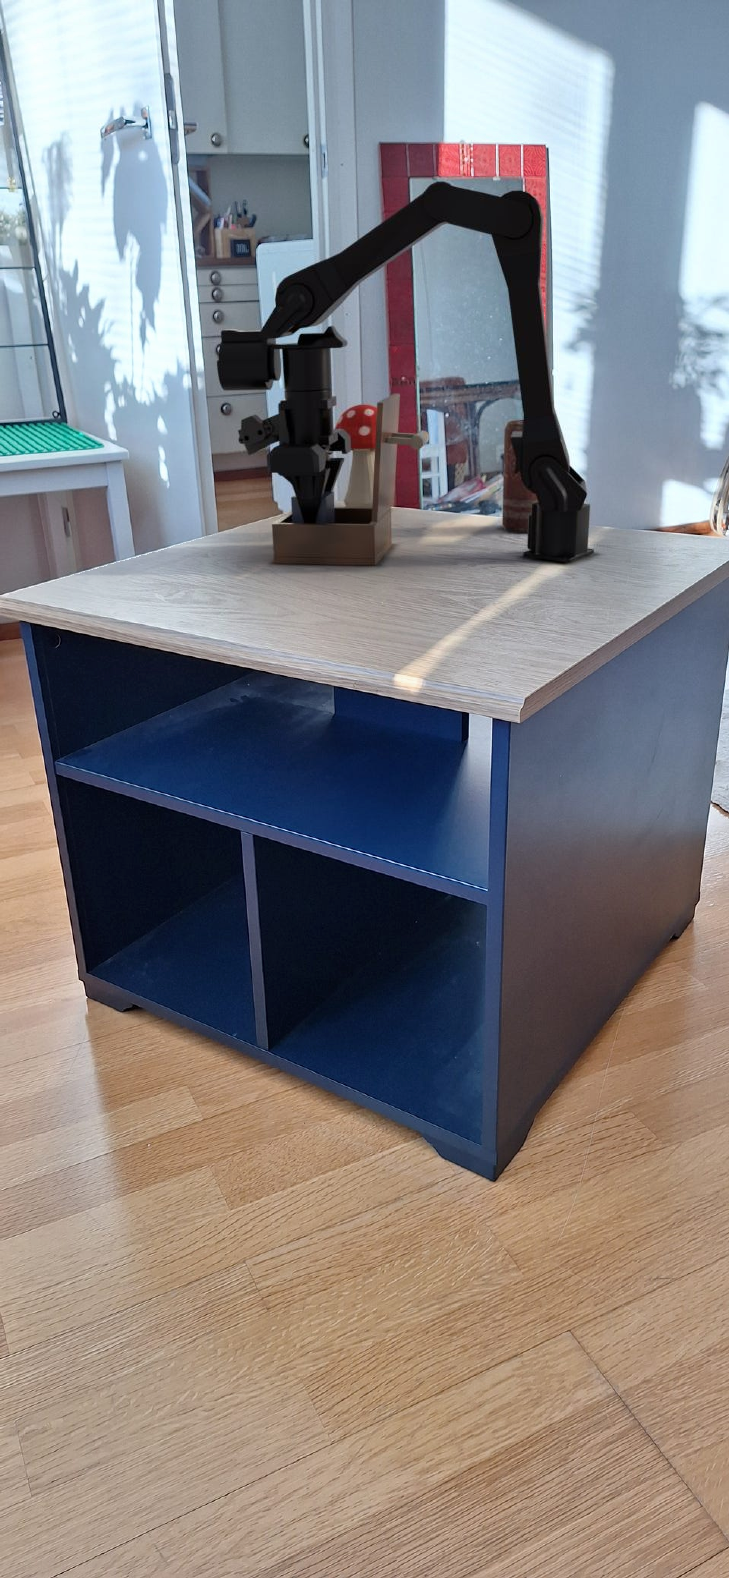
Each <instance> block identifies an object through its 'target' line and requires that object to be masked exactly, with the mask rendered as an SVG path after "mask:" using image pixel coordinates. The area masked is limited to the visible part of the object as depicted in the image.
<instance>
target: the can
mask: <svg viewBox="0 0 729 1578" xmlns="http://www.w3.org/2000/svg"><path fill="white" fill-rule="evenodd" d="M522 429H523V419H516V420H510V421H507V423H506V426H505V428H504V439H503V442H504V443H503V475H502V477H503V479H502V480H503V481H502V482H503V483H502V523H501V524H502V526H503V527H502V528H503V529H504V530H505V531H506V532H509V533H515V534H516V533H517V534H528V517H529V515H531V514H532V504H533V503H536V502H538V499H537V496H536V494H534V493H532V492H531V491H530V490H528V489H527V488H526V487H525V486H524V484H523V482H522V479H521V475H520V471H519V472H518V473H517V474H515V473H514V470H515V466H516V457H515V453H514V450H513V447H512V443H511V435H512V432H513V431H522Z"/></svg>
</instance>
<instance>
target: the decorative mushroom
mask: <svg viewBox="0 0 729 1578" xmlns="http://www.w3.org/2000/svg"><path fill="white" fill-rule="evenodd" d="M376 418H377V406H374V405H371V404H366V403H365V404H364V403H363V404H356V405H353V406H351V407H349V408H348V409H346V410H345V411H344V412H343V413H342V414H341V415H340V416H339V418H338V419H337V422H336V425H335V427H334V429H344V430H345V431H346V432H347V433H348V434H349V436H350V440H351V452H352V457H351V466H350V470H349V480H348V485H347V491H346V493H345V496H344V498H343V503H344V507H372V502H373V481H374V460H375V439H376Z"/></svg>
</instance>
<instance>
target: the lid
mask: <svg viewBox="0 0 729 1578" xmlns="http://www.w3.org/2000/svg"><path fill="white" fill-rule="evenodd" d="M400 400H401V393H399V392H398V393H397V392H395V393H392V394H391V395H389V396H387V397H385V398H383V399H381V400H379V401H377V403H376V407H377V418H376V439H375V460H374V481H373V502H372V522H378V521H379V519H380V518H381V517H382V516H383V515H384V514H385V513H386V512H387V511H388V510H389V509H390V508H391V509H392V507H393V506H394V505H395V492H396V491H395V490H396V472H397V457H398V456H397V453H398V445H401V446H402V445H403V446H410V447H411V449H413V450H415V451H416V450H417V451H418V450H421V449H422V448H423V447H424V446H426V444H427V443H428V442H429V440H430V434H429V433H428V432H427V430H419V431H418V432H417V433H409V432H407V433H406V432H399V419H400Z"/></svg>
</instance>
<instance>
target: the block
mask: <svg viewBox="0 0 729 1578" xmlns="http://www.w3.org/2000/svg"><path fill="white" fill-rule="evenodd" d="M290 502H291V510H292V523H304V520H303V517H302V514H301V511H300V507H299V504H298V501H297V498H296V495H295V494H294V495H292V496H291V497H290ZM334 507H335V492H334V490H333V491H324V493H323V497H322V500H321V504H320V507H319V511H318V514H317V518H316V521H315V523H319V524H335V511H334Z"/></svg>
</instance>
